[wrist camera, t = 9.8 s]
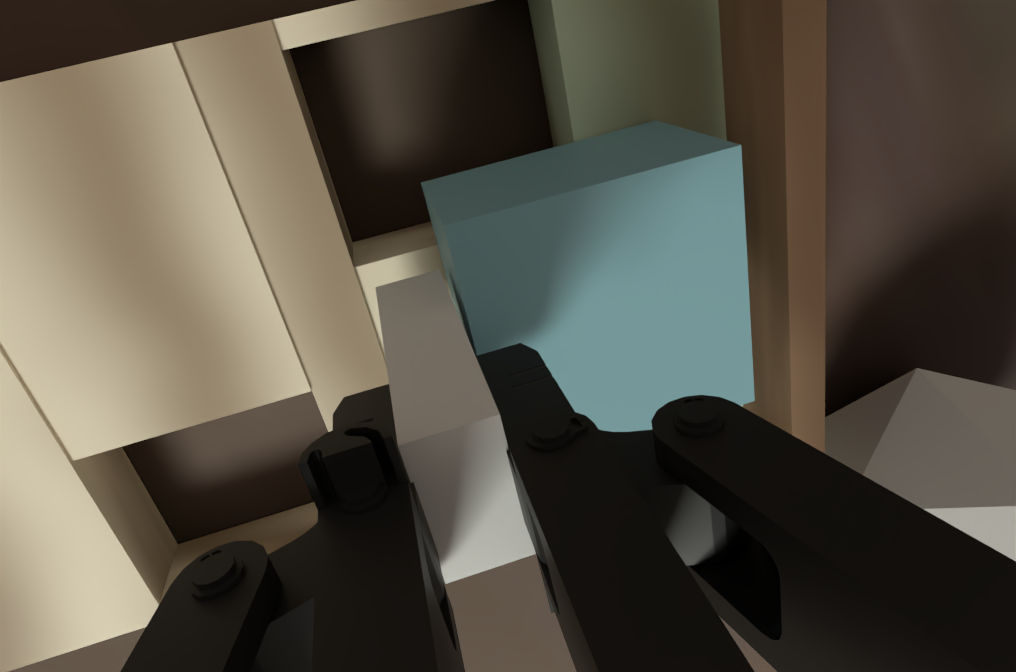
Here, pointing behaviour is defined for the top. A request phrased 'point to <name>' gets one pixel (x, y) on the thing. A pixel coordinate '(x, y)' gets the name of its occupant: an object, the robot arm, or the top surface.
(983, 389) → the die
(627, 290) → the block
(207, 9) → the top surface
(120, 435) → the trap board
